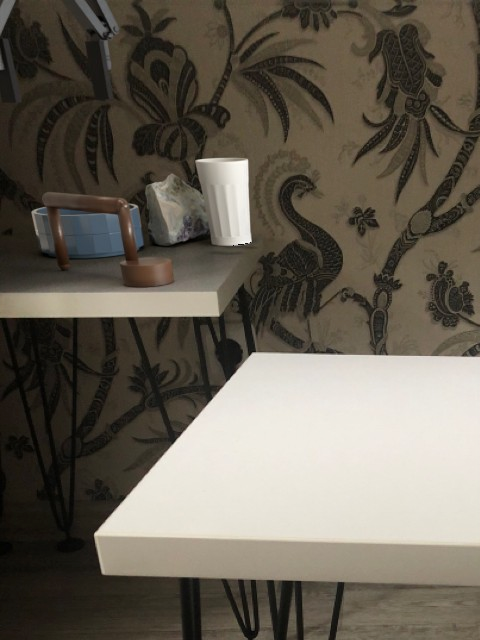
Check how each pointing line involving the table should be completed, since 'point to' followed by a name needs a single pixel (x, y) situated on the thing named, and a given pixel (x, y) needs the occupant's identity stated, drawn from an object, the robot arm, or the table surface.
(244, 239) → the cup
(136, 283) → the bent rod with disc
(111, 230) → the bowl
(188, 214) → the mineral rock
